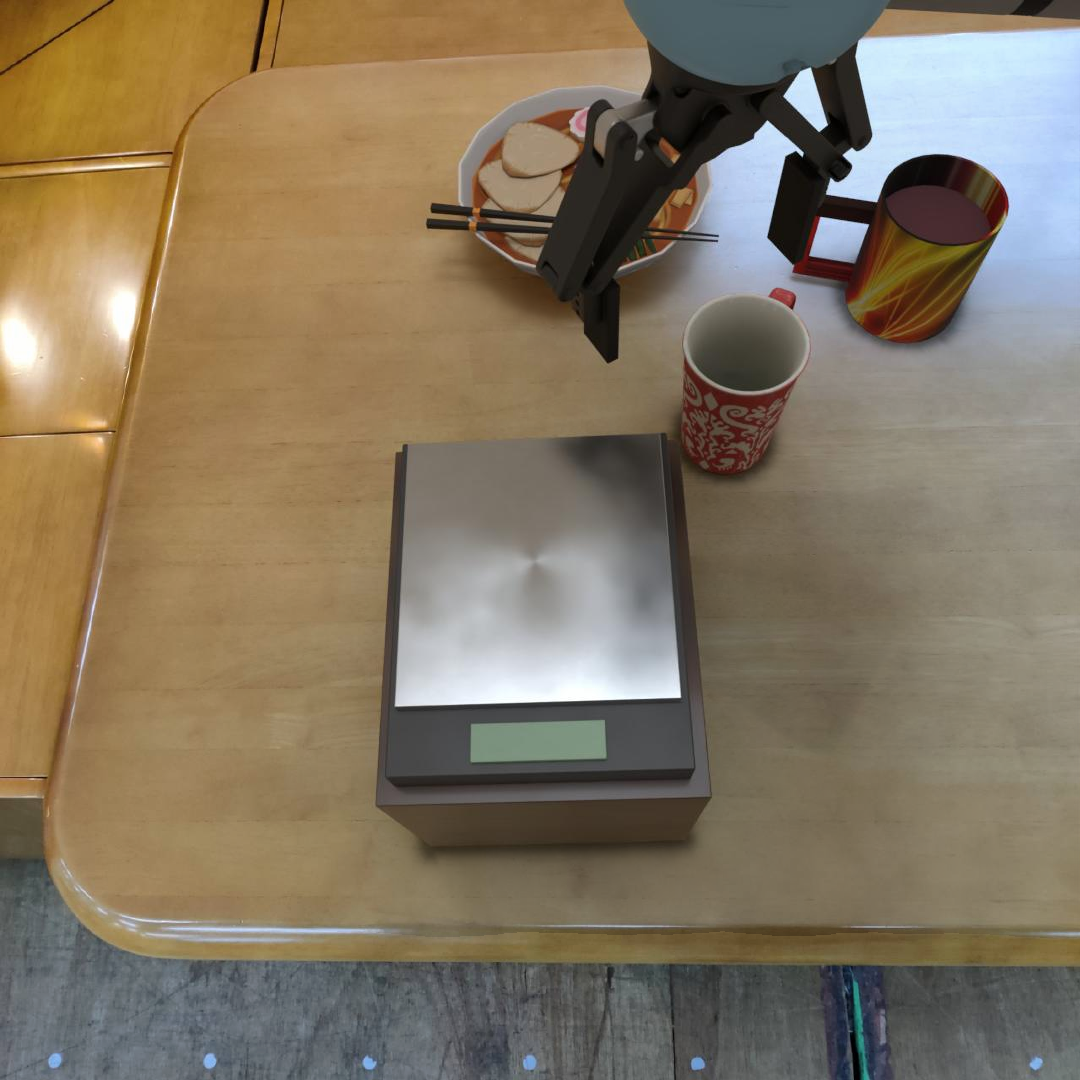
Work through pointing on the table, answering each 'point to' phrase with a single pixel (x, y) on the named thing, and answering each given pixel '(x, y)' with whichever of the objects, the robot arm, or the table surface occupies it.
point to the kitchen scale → (538, 615)
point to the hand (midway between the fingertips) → (694, 296)
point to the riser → (556, 805)
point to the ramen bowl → (552, 179)
